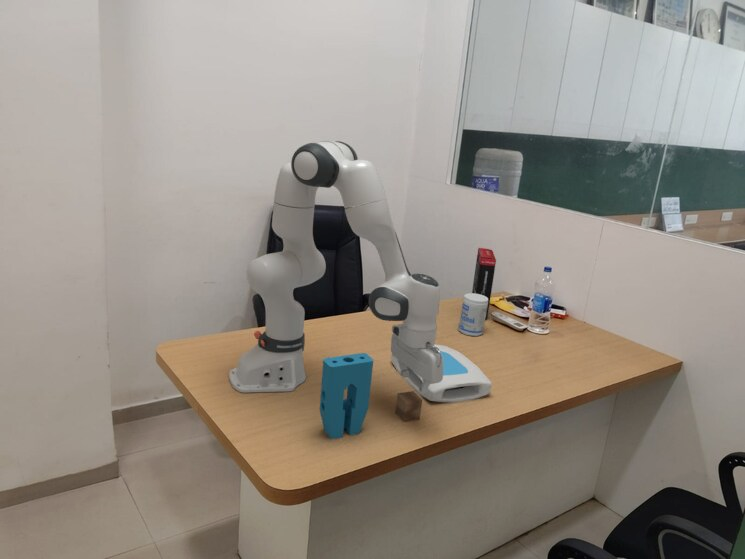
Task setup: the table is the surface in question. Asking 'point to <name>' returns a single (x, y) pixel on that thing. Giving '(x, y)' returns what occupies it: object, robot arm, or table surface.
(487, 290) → the graphics card box
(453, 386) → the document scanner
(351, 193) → the robot arm
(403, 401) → the walnut block
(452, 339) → the table surface
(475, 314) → the supplement tub
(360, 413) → the block
